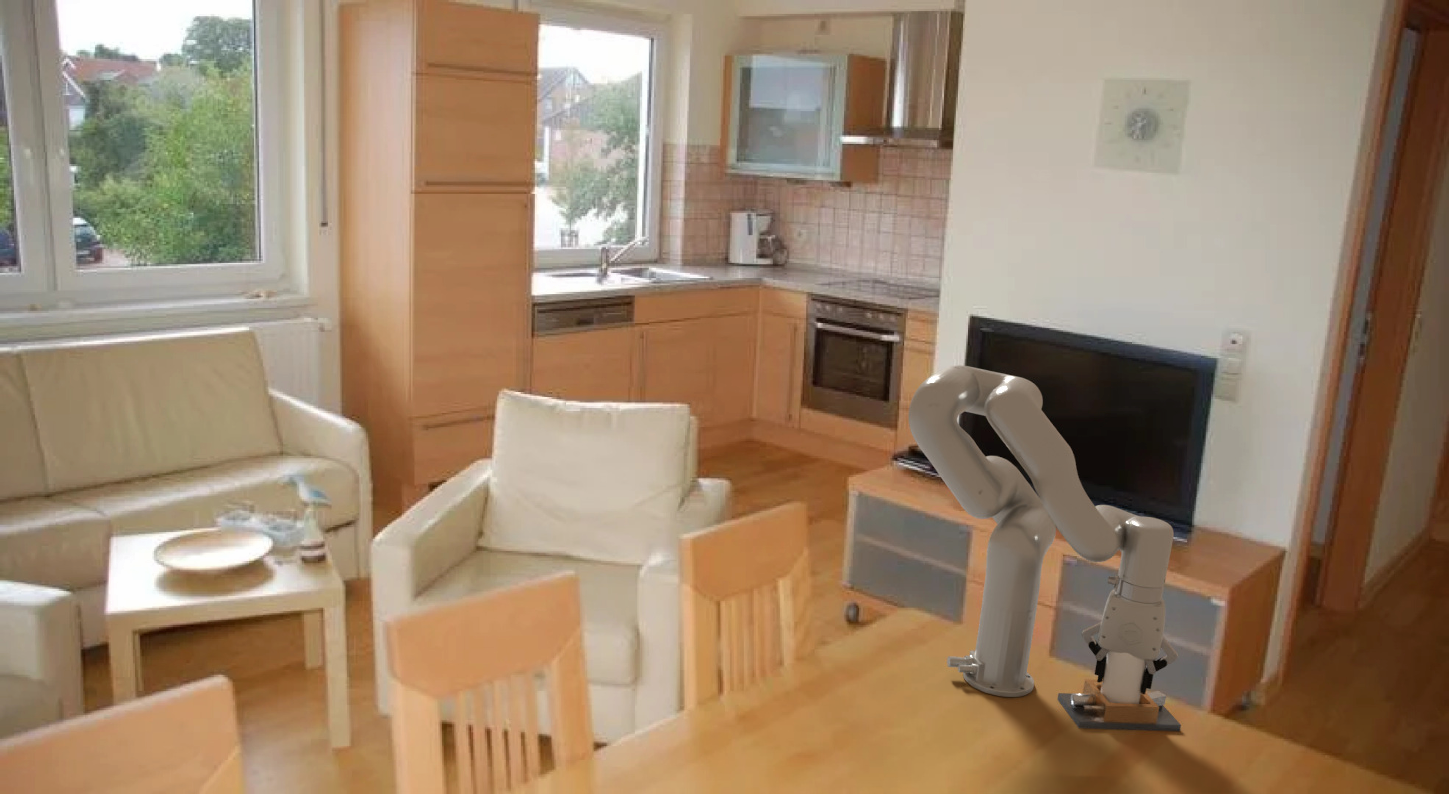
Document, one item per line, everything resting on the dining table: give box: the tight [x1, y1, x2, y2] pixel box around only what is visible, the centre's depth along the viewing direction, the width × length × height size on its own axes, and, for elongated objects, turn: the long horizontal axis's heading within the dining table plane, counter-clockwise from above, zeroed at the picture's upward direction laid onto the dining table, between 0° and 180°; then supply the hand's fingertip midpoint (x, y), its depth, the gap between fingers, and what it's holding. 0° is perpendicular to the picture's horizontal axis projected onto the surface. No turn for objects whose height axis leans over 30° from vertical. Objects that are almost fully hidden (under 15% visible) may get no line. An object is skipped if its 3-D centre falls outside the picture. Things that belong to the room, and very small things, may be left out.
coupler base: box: [1057, 678, 1182, 732], centre depth 203 cm, size 18×10×4 cm, turn 95°
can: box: [1101, 651, 1147, 704], centre depth 202 cm, size 6×6×12 cm
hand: (1121, 684), depth 203 cm, fingers open, 6 cm apart
